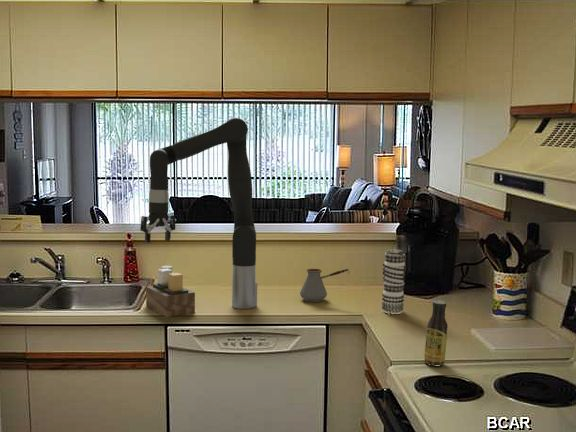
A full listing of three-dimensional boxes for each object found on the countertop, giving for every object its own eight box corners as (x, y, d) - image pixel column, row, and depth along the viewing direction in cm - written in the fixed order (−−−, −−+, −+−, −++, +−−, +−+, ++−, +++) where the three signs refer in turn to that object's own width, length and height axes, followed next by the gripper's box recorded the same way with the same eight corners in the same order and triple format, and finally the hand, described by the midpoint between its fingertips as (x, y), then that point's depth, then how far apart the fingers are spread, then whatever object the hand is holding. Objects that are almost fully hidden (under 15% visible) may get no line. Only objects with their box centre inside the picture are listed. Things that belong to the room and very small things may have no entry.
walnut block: (173, 302, 272) (173, 280, 271) (194, 312, 258) (194, 289, 257) (146, 306, 265) (146, 284, 264) (166, 317, 251) (166, 293, 250)
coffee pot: (295, 301, 279) (296, 266, 277) (306, 295, 289) (307, 261, 287) (343, 308, 270) (344, 271, 268) (352, 301, 280) (354, 266, 278)
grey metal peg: (167, 288, 267) (167, 268, 266) (171, 290, 264) (171, 270, 263) (158, 289, 265) (158, 269, 264) (162, 291, 262) (162, 271, 261)
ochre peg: (177, 292, 260) (177, 272, 259) (182, 294, 257) (182, 274, 256) (168, 294, 258) (168, 273, 257) (173, 296, 254) (173, 275, 253)
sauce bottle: (420, 364, 207) (423, 301, 204) (429, 359, 212) (432, 298, 209) (440, 369, 203) (443, 305, 200) (448, 363, 208) (452, 301, 205)
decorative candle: (403, 316, 260) (406, 252, 257) (379, 314, 262) (382, 251, 259) (405, 310, 269) (407, 248, 266) (381, 308, 271) (384, 247, 268)
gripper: (147, 202, 253) (146, 244, 255) (179, 201, 262) (178, 241, 264) (137, 200, 259) (136, 241, 261) (169, 199, 268) (168, 239, 270)
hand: (157, 241), depth 262 cm, fingers open, 8 cm apart
